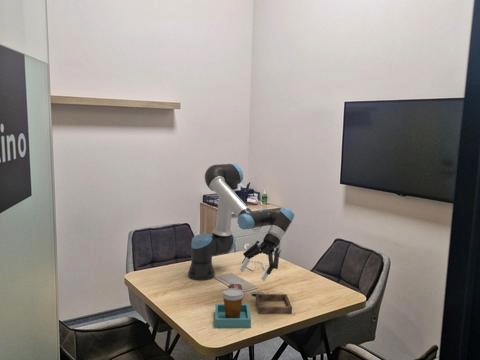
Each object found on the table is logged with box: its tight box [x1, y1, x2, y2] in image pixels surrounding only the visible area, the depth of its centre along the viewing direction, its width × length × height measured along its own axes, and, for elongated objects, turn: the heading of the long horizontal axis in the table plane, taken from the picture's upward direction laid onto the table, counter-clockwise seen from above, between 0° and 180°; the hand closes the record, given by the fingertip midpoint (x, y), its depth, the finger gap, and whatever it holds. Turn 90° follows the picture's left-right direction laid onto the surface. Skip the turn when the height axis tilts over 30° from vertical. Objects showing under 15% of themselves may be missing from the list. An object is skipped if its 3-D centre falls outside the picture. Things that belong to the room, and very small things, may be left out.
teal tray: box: [214, 303, 252, 329], centre depth 184 cm, size 15×15×4 cm
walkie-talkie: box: [228, 283, 243, 291], centre depth 210 cm, size 9×4×20 cm
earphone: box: [241, 243, 267, 272], centre depth 255 cm, size 14×17×18 cm
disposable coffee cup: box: [221, 287, 245, 318], centre depth 184 cm, size 10×10×12 cm
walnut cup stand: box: [255, 293, 293, 315], centre depth 198 cm, size 15×15×3 cm
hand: (251, 275), depth 190 cm, fingers open, 13 cm apart
